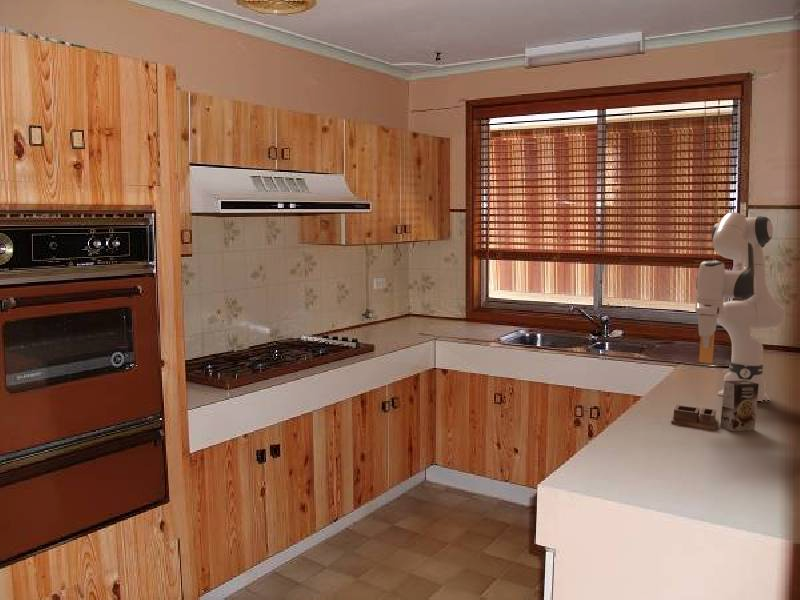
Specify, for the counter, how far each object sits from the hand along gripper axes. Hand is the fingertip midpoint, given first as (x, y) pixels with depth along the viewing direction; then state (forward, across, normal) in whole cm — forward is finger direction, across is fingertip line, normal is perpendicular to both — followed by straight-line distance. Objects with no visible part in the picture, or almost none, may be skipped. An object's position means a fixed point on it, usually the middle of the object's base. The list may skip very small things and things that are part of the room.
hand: (706, 347), depth 247 cm
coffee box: (+27, +3, +12) cm, 29 cm away
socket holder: (+26, +4, -2) cm, 27 cm away
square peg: (+5, 0, 0) cm, 5 cm away
